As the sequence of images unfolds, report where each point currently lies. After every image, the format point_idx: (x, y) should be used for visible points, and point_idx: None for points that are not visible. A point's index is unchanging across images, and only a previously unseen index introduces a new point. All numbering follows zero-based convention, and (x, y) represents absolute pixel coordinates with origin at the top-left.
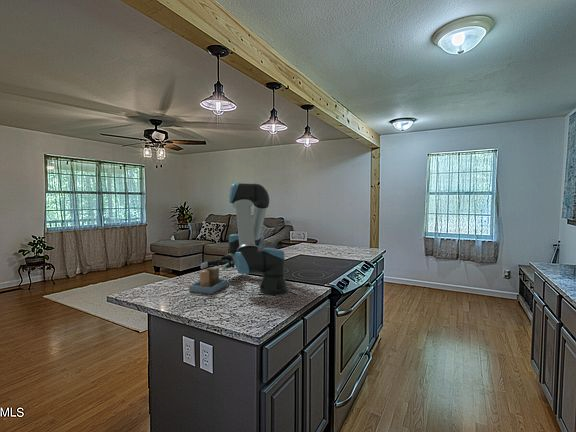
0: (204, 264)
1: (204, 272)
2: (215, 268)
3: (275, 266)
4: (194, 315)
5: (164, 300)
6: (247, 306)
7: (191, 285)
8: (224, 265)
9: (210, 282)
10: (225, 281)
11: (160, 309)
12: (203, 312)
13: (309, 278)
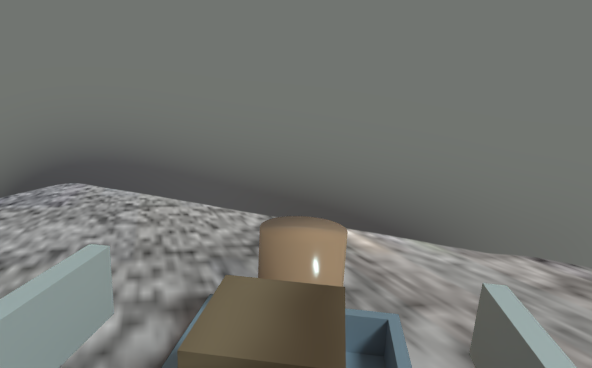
0: (519, 365)
1: (287, 217)
2: (226, 306)
3: None
4: (227, 215)
5: (411, 271)
6: (29, 250)
7: (381, 314)
8: (72, 259)
9: None
10: None
11: (351, 231)
12: (205, 224)
13: None
